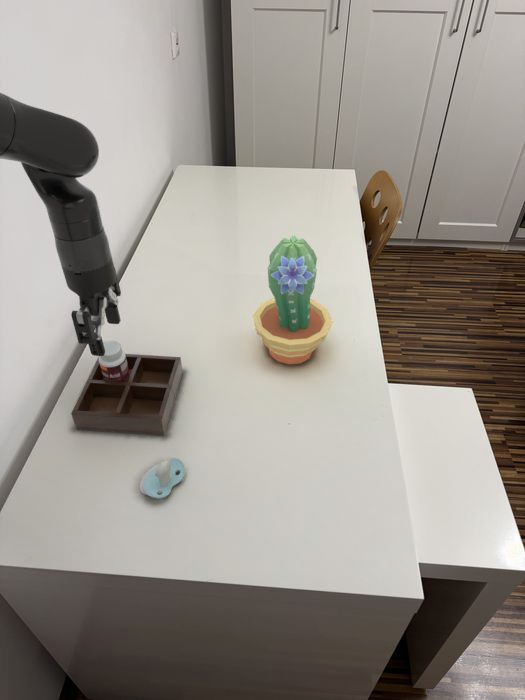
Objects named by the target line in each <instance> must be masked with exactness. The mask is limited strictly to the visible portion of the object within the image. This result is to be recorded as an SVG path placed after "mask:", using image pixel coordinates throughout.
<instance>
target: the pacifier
mask: <svg viewBox="0 0 525 700" xmlns="http://www.w3.org/2000/svg"><path fill="white" fill-rule="evenodd" d="M185 467H186V466H185V464H184V462H183V461H182V460H180V459H179V458H169V459H168V458H165V459H164V460H163V461H161V462H159V463H157V464H154V465H153V466H150V468H149V469H147V470H146V471H145V473H144V474H143V475H142V477H141V478H140V482H139V486H138V487H139V492H141V494H143V495H145V496H149V497H150V498H152V499H159V500H160V499H165V498H166V497H168V496H169V495H170V494H171V492H172V488H173V487H174V486H176V485H178V484H179V483H181V481H182V480H183V478H184V477H185V473H186V468H185ZM177 472H179V474H178V475H177V474H176V473H177Z"/></svg>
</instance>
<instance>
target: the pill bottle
mask: <svg viewBox="0 0 525 700" xmlns="http://www.w3.org/2000/svg"><path fill="white" fill-rule="evenodd" d="M103 344H104V348H105V354H104V356H98V357H99V364H100V367H101V371H102V374H103V378H104V381H118V382H128V380H129V377H130V373H129V368H128V364H127V360H126V355H125V354H126V352H124V350H123V347H122V345H121V343H120V342H118V341H117V340H107V341H106V340H105V341H104V342H103Z"/></svg>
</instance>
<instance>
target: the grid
mask: <svg viewBox="0 0 525 700" xmlns="http://www.w3.org/2000/svg"><path fill="white" fill-rule="evenodd" d="M125 355H126V360H127V364H128V368H129V373H130V377H129V380H128V382H118V381H104V378H103V374H102V371H101V367H100V364H99V356H97V359H96V361H95V363H94V365H93V367H92V369H91V371H90V373H89V376H88V378H87V380H86V382H85V384H84V386H83V387H82V390H81V392H80V394H79V396H78V398H77V400H76V402H75V404H74V406H73V409H72V410H71V412H70V415H71V418H72V420H73V423H74V426H75V428H76V430H84V431H95V432H111V433H123V434H137V435H152V436H165V435H166V432H167V429H168V426H169V423H170V422H169V421H170V418H171V414H172V411H173V407H174V404H175V401H176V397H177V394H178V390H179V387H180V385H181V380H182V377H183V373H184V372H183V365H182V358H181V356H170V355H169V356H168V355H167V356H166V355H155V354H154V355H151V354H138V353H137V354H136V353H125Z"/></svg>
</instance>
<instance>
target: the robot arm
mask: <svg viewBox="0 0 525 700" xmlns="http://www.w3.org/2000/svg"><path fill="white" fill-rule="evenodd" d="M99 158H100V148H99V143H98V140H97V139H96V136H95V135H94V133H93V132H92V130H90V128H89V127H88V126H87V125H85V124H84V123H82V122H80V121H78V120H77V119H74V118H71V117H69V116H68V117H67V116H65V115H62V114H59V113H55V112H52V111H49V110H46V109H44V108H43V109H42V108H39V107H36V106H33V105H29V104H26V103H24V102H21V101H19V100H17V99H15V98H13V97H11V96H8V95H7V94H4V93H2V92H0V159H1V160H7V161H14V162H19V163H20V164H21V166H22V168H23V171H24V172H25V174H26V175H27V177H28V179H29V181H30V183H31V184H32V186H33V187H34V190H35V192H36V193H37V195H38V196H39V198H40V200H41V201H42V203H43V205H44V206H45V209H46V212H47V216H48V219H49V222H50V227H51V229H52V233H53V237H54V243H55V249H56V254H57V256H58V260H59V263H60V266H61V269H62V273H63V276H64V280H65V283H66V287H67V288H68V289H69V290H70V291H71V292H72V293H74V294H76V295H77V296H78V297H79V307H80V308H78V310H72V311H71V313H70V315H71V320H72V324H73V328H74V330H75V334H76V338H77V342H78V344H79V345H88V348H89V351H90V354H91V355H92V356H94V357H99V356H104V354H105V348H104V344H103V343H104V342H103V341H104V340H103V337H102V327H103V326H104V325H105V318H106V322H107V323H108V324H110V325H119V324H120V323H121V316H120V311H119V306H118V305H119V298H118V297H121V295H122V290H121V286H120V283H119V279H118V274H117V270H116V267H115V265H114V260H113V256H112V251H111V250H112V249H111V247H110V242H109V241H110V240H109V238H108V235H107V233H106V230H105V226H104V223H103V219H102V218H103V217H102V214H101V209H100V204H99V201H98V197H97V196H96V193H95V192H94V191H93V189H91V188H90V187H89V186H87V185H86V184H84V183H82V182H81V181H79V178H82V177H85V176H87V175H88V174H90V173H91V172H93V170H94V169H95V168H96V166H97V165H98V163H99ZM111 287H113V288H111ZM93 317H97V318H98V319H97V320H95V319H93ZM94 326H95V327H94Z"/></svg>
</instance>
